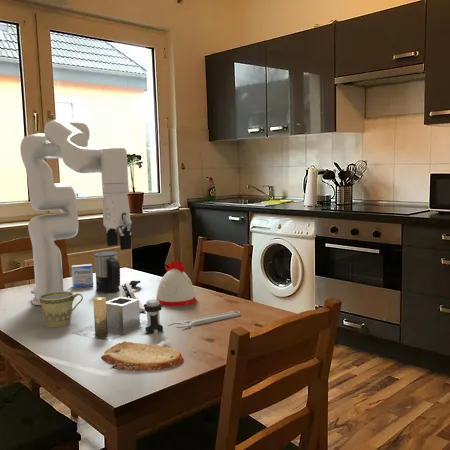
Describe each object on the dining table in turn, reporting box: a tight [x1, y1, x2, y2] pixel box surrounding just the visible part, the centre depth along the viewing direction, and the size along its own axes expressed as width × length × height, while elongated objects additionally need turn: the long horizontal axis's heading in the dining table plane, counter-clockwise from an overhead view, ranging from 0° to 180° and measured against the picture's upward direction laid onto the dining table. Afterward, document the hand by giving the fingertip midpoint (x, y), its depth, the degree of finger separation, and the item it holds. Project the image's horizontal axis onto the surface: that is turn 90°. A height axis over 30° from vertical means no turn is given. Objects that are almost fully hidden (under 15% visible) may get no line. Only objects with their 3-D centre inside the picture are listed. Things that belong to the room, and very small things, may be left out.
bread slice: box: [100, 340, 185, 372], centre depth 132 cm, size 18×18×4 cm
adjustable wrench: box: [167, 310, 241, 331], centre depth 161 cm, size 25×6×2 cm, turn 119°
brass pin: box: [92, 296, 108, 334], centre depth 150 cm, size 4×4×10 cm
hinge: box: [119, 282, 147, 315], centre depth 177 cm, size 17×5×10 cm, turn 17°
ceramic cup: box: [39, 290, 84, 328], centre depth 160 cm, size 13×10×10 cm
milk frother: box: [93, 251, 141, 294], centre depth 203 cm, size 14×16×15 cm
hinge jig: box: [71, 296, 147, 342], centre depth 155 cm, size 15×19×8 cm
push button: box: [140, 299, 164, 335], centre depth 150 cm, size 7×5×10 cm
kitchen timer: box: [155, 259, 196, 307], centre depth 185 cm, size 14×14×15 cm
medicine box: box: [71, 263, 94, 289], centre depth 210 cm, size 8×4×9 cm, turn 111°
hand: (119, 247), depth 154 cm, fingers open, 9 cm apart
